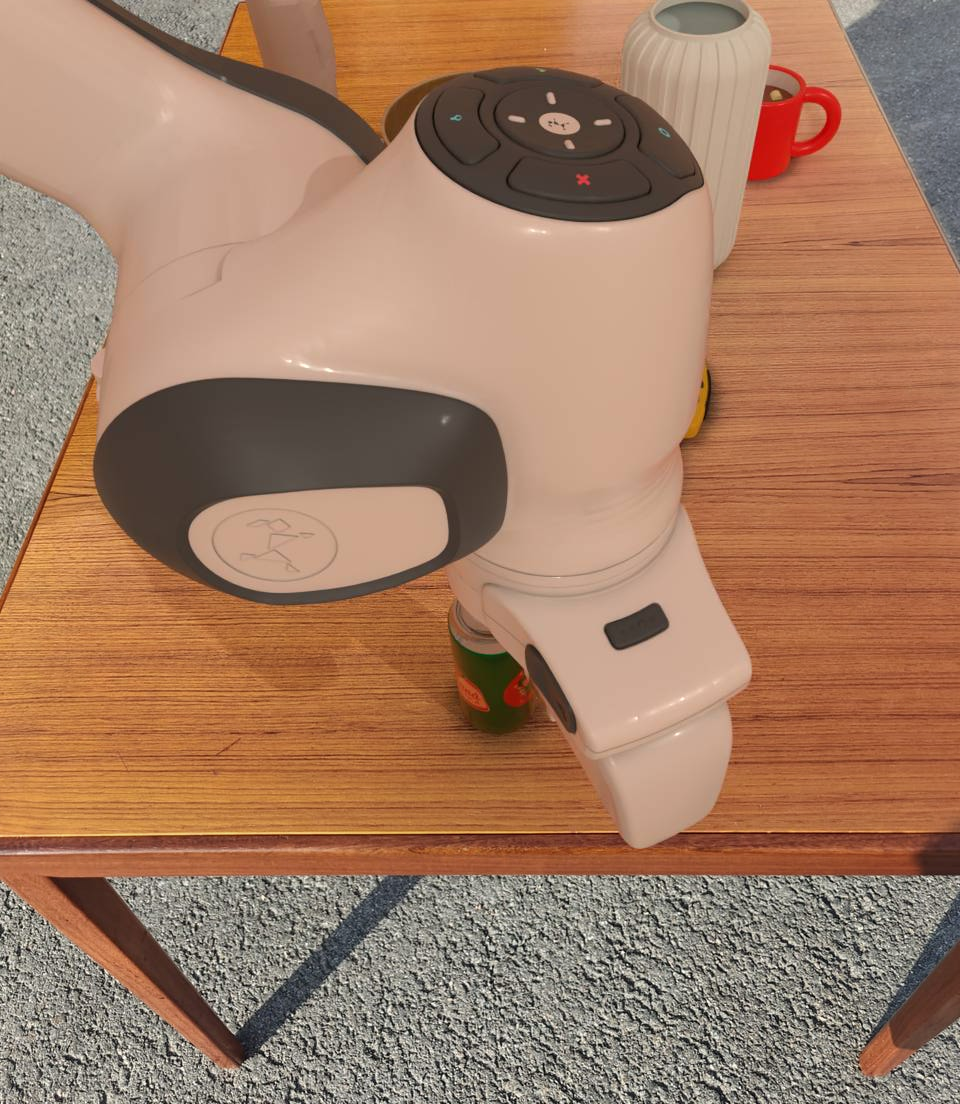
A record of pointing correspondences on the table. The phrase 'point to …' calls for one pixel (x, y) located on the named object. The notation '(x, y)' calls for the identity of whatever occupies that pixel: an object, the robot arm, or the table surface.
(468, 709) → the soda can
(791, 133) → the mug
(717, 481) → the table surface
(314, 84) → the pink piece
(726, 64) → the vase
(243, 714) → the table surface
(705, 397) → the yellow walkie talkie
